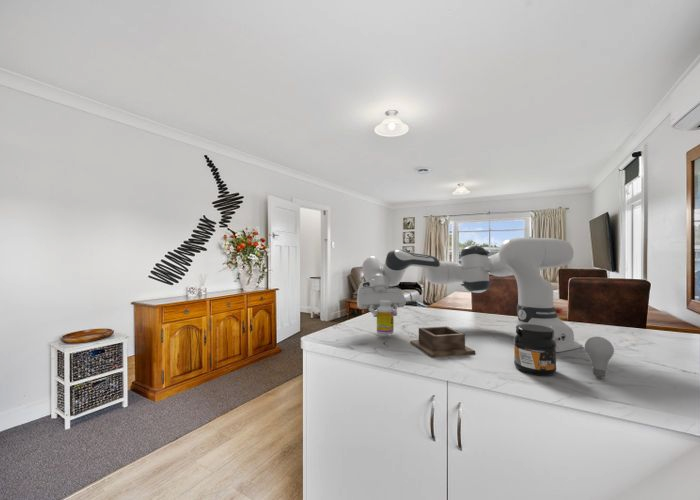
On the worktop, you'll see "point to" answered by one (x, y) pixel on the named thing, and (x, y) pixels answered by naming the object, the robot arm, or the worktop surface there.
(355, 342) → the worktop surface
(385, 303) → the supplement bottle
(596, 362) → the lightbulb
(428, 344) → the bottle caddy
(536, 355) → the supplement container
